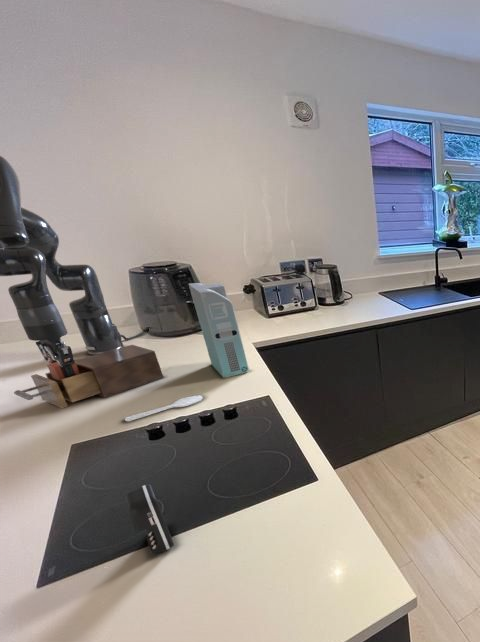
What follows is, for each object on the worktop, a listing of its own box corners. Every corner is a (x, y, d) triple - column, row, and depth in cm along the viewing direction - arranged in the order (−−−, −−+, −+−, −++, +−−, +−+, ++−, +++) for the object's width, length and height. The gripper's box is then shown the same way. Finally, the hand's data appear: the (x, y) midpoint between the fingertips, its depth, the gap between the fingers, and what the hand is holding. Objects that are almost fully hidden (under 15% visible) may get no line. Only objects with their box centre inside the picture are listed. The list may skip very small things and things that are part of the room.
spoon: (123, 417, 112) (122, 415, 111) (200, 394, 125) (199, 393, 124) (127, 424, 108) (126, 422, 108) (205, 400, 121) (205, 398, 121)
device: (249, 371, 141) (228, 288, 130) (224, 378, 136) (199, 292, 124) (235, 358, 151) (215, 280, 140) (211, 364, 146) (188, 283, 135)
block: (72, 372, 120) (67, 359, 119) (80, 375, 119) (74, 361, 117) (52, 378, 117) (46, 364, 115) (60, 381, 115) (54, 367, 113)
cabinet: (104, 397, 122) (92, 368, 118) (82, 389, 126) (70, 361, 123) (163, 377, 135) (154, 350, 131) (141, 370, 140) (132, 344, 136)
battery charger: (141, 538, 74) (120, 490, 70) (167, 527, 77) (148, 479, 72) (148, 560, 70) (125, 510, 65) (175, 547, 72) (155, 498, 68)
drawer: (38, 416, 110) (25, 390, 107) (18, 407, 114) (5, 382, 111) (124, 387, 126) (115, 364, 123) (104, 380, 130) (95, 358, 127)
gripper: (73, 320, 112) (95, 375, 118) (48, 314, 117) (71, 366, 123) (35, 328, 105) (61, 385, 112) (10, 320, 111) (36, 376, 117)
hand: (66, 375), depth 118 cm, fingers closed on block, 4 cm apart
